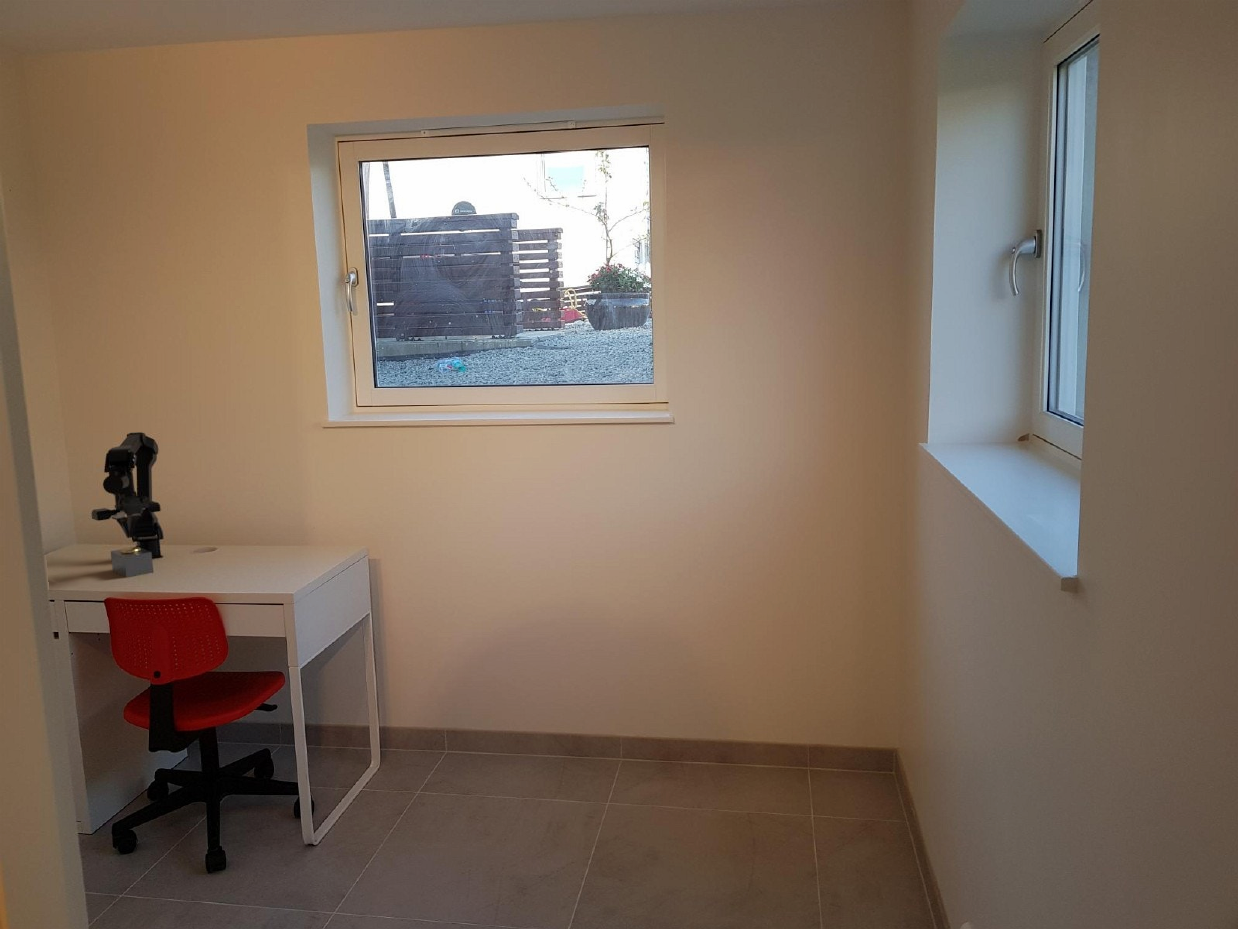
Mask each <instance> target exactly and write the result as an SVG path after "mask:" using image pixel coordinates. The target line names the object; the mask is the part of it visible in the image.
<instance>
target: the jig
mask: <svg viewBox="0 0 1238 929" xmlns="http://www.w3.org/2000/svg"><path fill="white" fill-rule="evenodd" d="M122 549H123V548H122ZM122 549H121V548H120V549H116V550H111V551H110V558H111V566H112V572H114V573H116V574H118V575H120V576H122V577H124V578H130V577H136V576H141V575H146V574H151V573H154V566H153V559H152V553H151V552H150V551H147V550H145V549H142V548H141V551H140V552H137V553H131V554H122V553H121V550H122Z"/></svg>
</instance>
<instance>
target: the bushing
mask: <svg viewBox="0 0 1238 929" xmlns="http://www.w3.org/2000/svg"><path fill="white" fill-rule="evenodd" d="M120 550H121V549H120ZM140 551H141V548H140V547H136V546H132V547H131V546H130V547H126V548H122V550H121V553H122V554H131V553H137V552H140Z"/></svg>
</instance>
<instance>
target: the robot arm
mask: <svg viewBox="0 0 1238 929" xmlns="http://www.w3.org/2000/svg"><path fill="white" fill-rule="evenodd" d="M158 455H159V445H158V443H157V442H156V440H155V439H154V438H152V437H149V436H147V435H146V433H145V432H142V431H141V432H137V431H136V432H129V433H127V434H126V437H125V438H124V440H123V441H122V443H121V444H119V445H118V446H115V447H111V448H110V449H108V451H107V453H106V454H105V462H104V470H103V472H104V473H108V475H107V476H106V477H105V478H104V479H103V482H102V487H103V489H104V491H105V492H106V493H108V494H110V495H113V496H114V501H115V502H114V503H115V504H114V508H113V509H109V508H106V507H102V508H98V509H97V508H96V509H93V510H92V511H91V519H93V520H95V521H106V520H110V519H113V520H115V521H116V522H117V523H118V525H119V526H120V528H121V529H122V531H123V533H124V534H125V536H126V538H127V539H130V538H131V541H132V543H135V542H136V545H135V547H140V548H142V549H145V550H147V551H150V552H151V553H152V560H155V558H156V559H161V558H163V557H164V555H162V552H161V551H162V550H161V542H160V541H161V540H164V537H165V536H164V531H163V528H162V526H161V524H160V523H159V520H158V519H159V518H158V517H157V516H156V514H155V513H158V512H161V510H162V508H161V505H160V503H159V502H158V501H153V484H152V483H153V477H152V476H153V473H152V472H153V471H152V468H153V466H154V465H155V463H156V462H157V459H158V457H157V456H158ZM135 468H136V471H135V472H136V490H135V481H134V480H135V479H134V473H133V472H134V469H135Z"/></svg>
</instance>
